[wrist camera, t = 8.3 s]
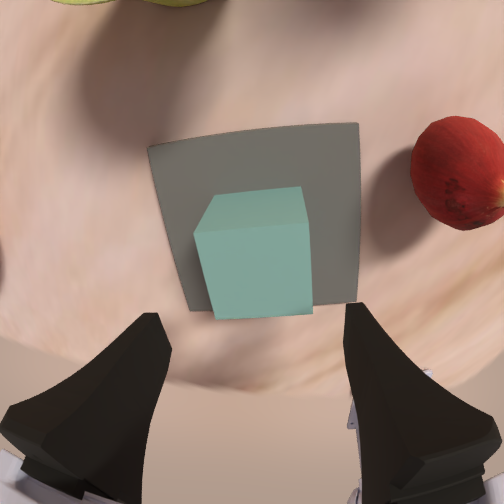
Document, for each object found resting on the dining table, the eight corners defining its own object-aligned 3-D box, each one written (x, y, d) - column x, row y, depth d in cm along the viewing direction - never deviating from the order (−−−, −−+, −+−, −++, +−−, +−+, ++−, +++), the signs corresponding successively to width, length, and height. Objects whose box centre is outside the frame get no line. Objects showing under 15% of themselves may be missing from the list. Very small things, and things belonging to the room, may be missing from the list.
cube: (306, 262, 20) (312, 314, 15) (228, 268, 20) (215, 319, 16) (301, 186, 17) (308, 222, 13) (214, 195, 18) (193, 233, 14)
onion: (448, 211, 18) (513, 278, 11) (377, 181, 17) (434, 244, 10) (479, 134, 15) (563, 171, 8) (409, 93, 14) (490, 106, 7)
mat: (354, 296, 21) (356, 301, 21) (191, 306, 23) (189, 311, 23) (356, 122, 16) (358, 123, 15) (150, 146, 17) (146, 148, 17)
